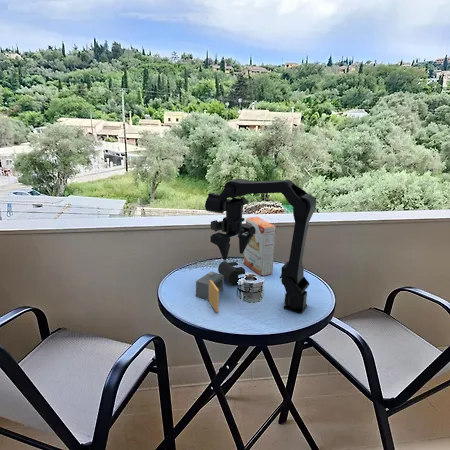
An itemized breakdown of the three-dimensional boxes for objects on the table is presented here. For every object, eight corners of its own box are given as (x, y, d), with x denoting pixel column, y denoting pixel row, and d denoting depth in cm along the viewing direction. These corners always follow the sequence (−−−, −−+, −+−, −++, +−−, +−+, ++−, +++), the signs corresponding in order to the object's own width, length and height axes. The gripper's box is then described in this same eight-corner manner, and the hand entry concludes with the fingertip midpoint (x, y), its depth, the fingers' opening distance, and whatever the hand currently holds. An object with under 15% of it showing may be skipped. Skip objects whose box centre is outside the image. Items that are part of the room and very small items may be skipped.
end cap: (217, 277, 169) (217, 261, 167) (233, 274, 172) (234, 259, 170) (228, 287, 160) (229, 271, 158) (245, 284, 163) (246, 268, 161)
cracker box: (242, 264, 182) (245, 217, 176) (254, 262, 185) (257, 216, 178) (260, 277, 170) (263, 227, 164) (272, 274, 173) (276, 225, 167)
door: (207, 300, 150) (208, 279, 147) (210, 300, 150) (210, 278, 147) (215, 313, 141) (216, 290, 139) (218, 313, 142) (219, 290, 139)
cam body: (223, 289, 158) (224, 273, 156) (209, 300, 150) (209, 282, 148) (210, 286, 161) (211, 269, 159) (195, 296, 153) (196, 278, 150)
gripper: (233, 206, 161) (232, 245, 166) (198, 216, 148) (199, 258, 152) (257, 211, 154) (255, 252, 159) (222, 222, 141) (222, 266, 145)
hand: (233, 256), depth 154 cm, fingers open, 9 cm apart
